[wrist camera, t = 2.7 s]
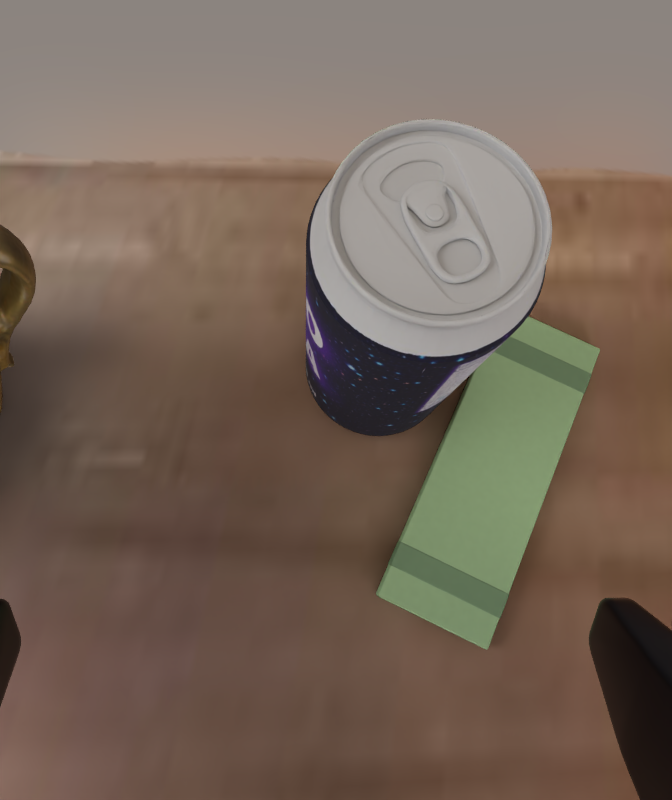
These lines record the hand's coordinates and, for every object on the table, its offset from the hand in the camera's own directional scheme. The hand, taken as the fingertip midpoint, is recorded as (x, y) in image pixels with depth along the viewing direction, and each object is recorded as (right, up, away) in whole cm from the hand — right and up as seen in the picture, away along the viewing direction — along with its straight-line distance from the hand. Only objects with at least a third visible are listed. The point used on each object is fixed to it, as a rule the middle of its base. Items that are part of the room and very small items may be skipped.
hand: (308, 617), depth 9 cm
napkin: (+7, +1, +14) cm, 16 cm away
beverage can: (+2, +4, +15) cm, 16 cm away
